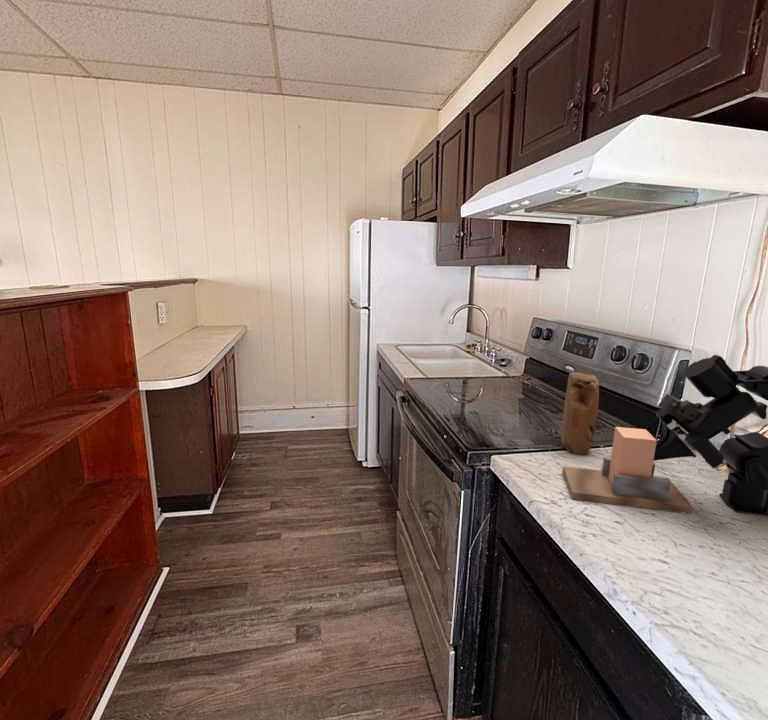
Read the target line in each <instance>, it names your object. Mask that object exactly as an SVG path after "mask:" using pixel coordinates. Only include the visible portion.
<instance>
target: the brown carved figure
mask: <svg viewBox="0 0 768 720" xmlns="http://www.w3.org/2000/svg"><path fill="white" fill-rule="evenodd" d="M599 383H600V382H599V380H598V378H597V377H596V376H595V375H594V374H591V373H590V374H587V373H582V372H576V371H575V372H574V371H572V372H570V373H569V374H568V379H567V385H566V392H565V398H564V399H565V400H564V405H563V415H562V423H561V435H560V436H561V437H560V438H561V439H560V440H561V441H560V442H561V445H562V447H564V448H565V450H567V452H569V453H574V454H577V455H584V454H585V455H586V454H588V453H589V452H590V450H591V447H592V442H593V439H594V435H595V429H596V425H597V417H598V409H599V401H600V384H599Z"/></svg>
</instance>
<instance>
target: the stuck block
mask: <svg viewBox="0 0 768 720" xmlns="http://www.w3.org/2000/svg"><path fill="white" fill-rule="evenodd" d="M613 432H614V434H613V440H612V446H611V447H612V448H611V449H612V450H611V454H610V455H611V456H610V458H611V461H610V468H609V476H608V478H609V479H610V481H611V483H612V484H613V477H614V474H622V475H631V476H640V477H649V478H651V472H652V466H653V463H654V461H653V460H654V454H655V448H656V444H657V443H658V442H657V441H658V440H657V439H656V438H655V437H654V436H653V435H652V434H651V433H650V432H649V431H648V430H647V429H645V428H632V427H624V426H623V427H621V426H615V427H614V431H613Z"/></svg>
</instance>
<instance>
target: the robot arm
mask: <svg viewBox="0 0 768 720" xmlns="http://www.w3.org/2000/svg"><path fill="white" fill-rule="evenodd" d="M683 376H684V377H685V378H686V380H688V381H689V383H691V385H692V386H694V388H695V389H696V390H697V392H699V393H700V394H701V396H703V398H712V399H711V400H709V401H708V402H706V403H705V404H702V403H701V402H696V403H693V402H691V401H689V400H687V399H685V400H681V399H679V398H677V397H675V396H673V395H671V394H669V393H666V394H665V395H664V397H663V398H662V399H661V401H660V402H659V403H658V405H657V407H658V408H660V409H658V410H657V411H656V412H654V414H655V415H656V416H657V418H659V420H660V421H661V422H662V428H663V430H662V431H663V432H662V436H661V437H660V438H659V440H657V441H658V442H656V448H655V454H654V460H653V462H655V461H661V460H662V461H663V460H670V459H677V458H687V457H688V458H689V457H692V458H697V455H696V453H699V455H700V456H701V457H702V458H703V459H704V462H705V463H706V464H708V465H709V467H711V468H712V469H715V468H718V467H719V466H720V465H722V464H723V463H724V462H725V466H726V468H727V469H729V470H730V471H731V472H728V475H727V479H725V480H724V483H723V487H722V493H719V495H718V496H719V498H721V499H722V500H723V501H724V502H725V503H726V504H727V505H728V506H729V507H730V508H732V509H733V511H734V512H737V513H745V514H751V515H752V514H753V515H754V514H755V515H762V516H768V437H766V436H765V435H763V434H761V433H760V432H758V431H754V432H750V433H746V434H737V433H736V434H735V433H734V434H733V437H731V438H727V439H725V440H724V441H723V443H722V444H721V445H720V447H719V449H718V448H717V447H716V446H715V445H714V444H713V443H712V442H711V439H713V438H714V437H716V436H718V435H719V434H721V433H723V435H725V436H727V435H729V434H730V433H732V432H731V430H730V429H729V428H730V427H732V426H733V425H735V424H737V423H739V422H740V421H742V420H743V419H745V418H747V417H748V416H750V415H751V414H752V415H754V416H756V417H757V418H759V419H762V420H766V419H767V409H768V405H767V404H766V403H763V402H761V401H757V400H756V399H755V398H754V397H753V396H752V395H754V396H757V397H759V398H761V399H763V400H766V401H768V366H766V365H755V366H752V368H750V369H748V370H746V369H745V370H733V369H731V367H729V364H727V362H726V360H725V359H724V358H723V357H722V356H720V355H719V354H718V355H717V354H713V355H712V356H711V357H706V358H702V359H700V360H698V361H693V362H692V363H691V364H689V365H688V366H687V367H686V368H685V369H684V371H683ZM737 386H739V387H741V388H743V389H745V391H741V390H740V389H739V388H738V387H737ZM751 394H752V395H751Z"/></svg>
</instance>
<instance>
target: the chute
mask: <svg viewBox="0 0 768 720" xmlns="http://www.w3.org/2000/svg"><path fill="white" fill-rule="evenodd" d="M610 461H611V457H607V456H604V457H603V460H602V467H601V470H600V469H599V470H598V469H590V468H581V467H572V466H570V467H569V466H564V465H563V466H562V475H563V477H564V480H565V483H566V486H567V488H568V491H569V493H570V496H571V499H572V500H577V499H578V500H579V501H585V500H586V501H587V502H593V501H595V503H601V502H602V503H603V504H610V505H617V504H621V505H620V506H625V505H630V506H629V507H633V506H637V507H636V508H641V507H644V509H649V508H650V509H651V510H657V509H658V511H659V510H660V511H665V510H666V511H667V512H673V511H674V513H681V512H685V513H684V514H689V513H692V514H693V509H694V506H693V505H692V504H691V502H689V500H688V499H687V498H686V497H685V496H684V494H683V493H682V492H681V491H680V490H679V489H678V488H677V486H675V484H674V483H673V482H672V481H671V480H670V479H669V477H663V476H654V473H655V468H656V464H655V463H654V462H653V466H652V472H651V478H649V477H640V476H631V475H622V474H614V477H613V484H612V483H611V481H610V479H609V478H608V476H609V468H610ZM586 501H585V502H586ZM650 509H649V510H650Z"/></svg>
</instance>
